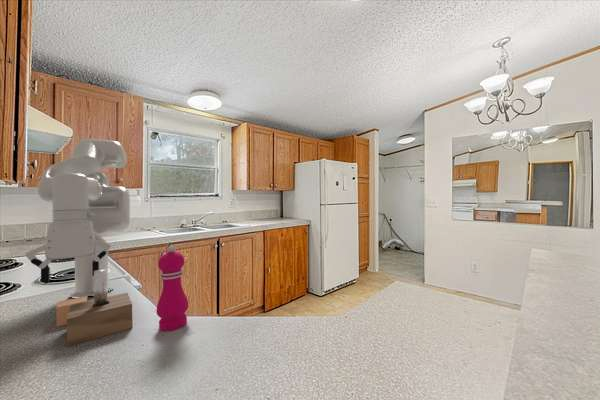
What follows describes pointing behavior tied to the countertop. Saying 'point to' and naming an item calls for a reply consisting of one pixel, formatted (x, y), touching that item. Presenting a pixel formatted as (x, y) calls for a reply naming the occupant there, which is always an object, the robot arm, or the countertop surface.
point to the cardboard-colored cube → (66, 309)
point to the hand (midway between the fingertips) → (71, 278)
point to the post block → (98, 319)
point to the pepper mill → (172, 292)
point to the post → (100, 287)
